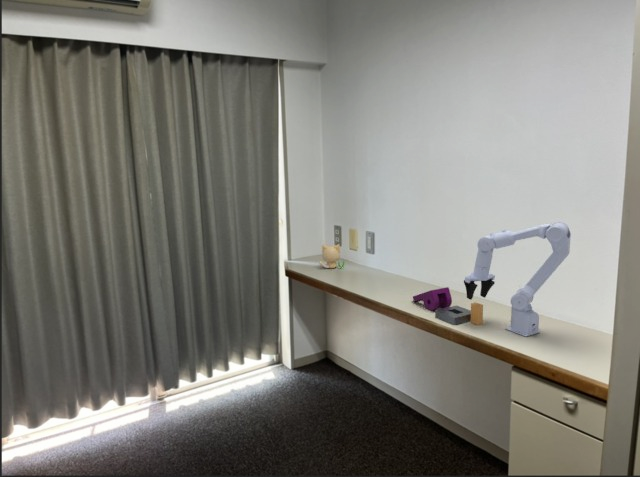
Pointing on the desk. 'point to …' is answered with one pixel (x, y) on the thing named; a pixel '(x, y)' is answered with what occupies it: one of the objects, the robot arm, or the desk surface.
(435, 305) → the mounting bracket
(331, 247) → the kitten
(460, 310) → the grey slotted square block
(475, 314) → the orange-brown rectangular block
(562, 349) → the desk surface
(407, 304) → the desk surface
